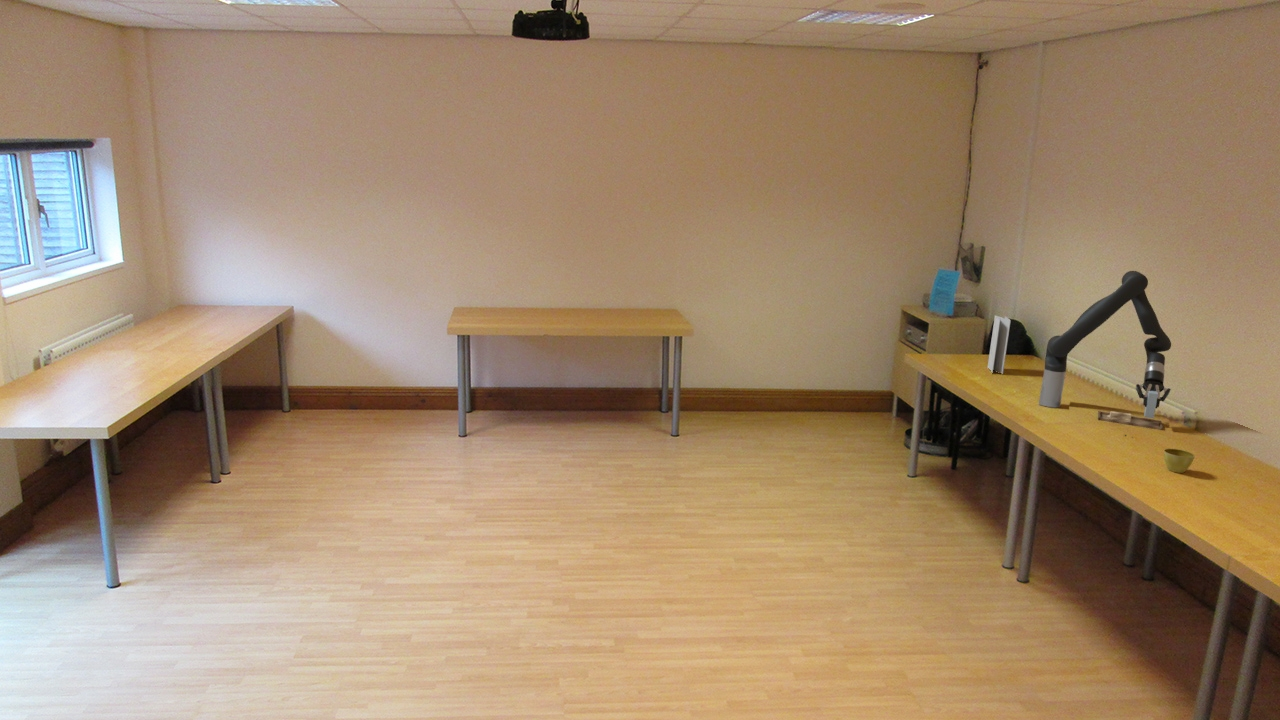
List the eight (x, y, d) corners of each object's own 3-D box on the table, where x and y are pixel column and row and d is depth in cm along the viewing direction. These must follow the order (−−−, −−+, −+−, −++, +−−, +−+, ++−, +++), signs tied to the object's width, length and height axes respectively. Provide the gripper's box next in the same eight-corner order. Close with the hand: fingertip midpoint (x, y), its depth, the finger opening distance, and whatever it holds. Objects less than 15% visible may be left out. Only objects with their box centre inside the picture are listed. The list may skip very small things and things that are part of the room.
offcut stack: (1106, 420, 390) (1108, 412, 389) (1106, 419, 393) (1108, 410, 392) (1129, 424, 386) (1131, 415, 385) (1129, 422, 389) (1131, 413, 388)
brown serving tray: (1097, 423, 391) (1098, 417, 390) (1097, 416, 402) (1098, 411, 402) (1161, 433, 380) (1163, 427, 380) (1160, 426, 392) (1161, 420, 391)
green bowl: (1154, 465, 336) (1157, 448, 335) (1179, 466, 337) (1182, 448, 336) (1172, 475, 327) (1175, 456, 325) (1197, 475, 328) (1201, 457, 326)
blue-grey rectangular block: (1144, 417, 386) (1149, 392, 384) (1144, 414, 391) (1148, 390, 388) (1153, 418, 385) (1157, 394, 382) (1152, 415, 389) (1157, 391, 387)
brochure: (1002, 374, 476) (1010, 320, 469) (992, 374, 477) (999, 319, 470) (997, 369, 489) (1005, 316, 483) (987, 368, 490) (994, 315, 484)
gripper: (1137, 367, 393) (1134, 399, 385) (1174, 372, 387) (1171, 404, 379) (1135, 376, 399) (1131, 408, 391) (1171, 381, 393) (1168, 413, 385)
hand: (1151, 406), depth 385 cm, fingers closed on blue-grey rectangular block, 3 cm apart
